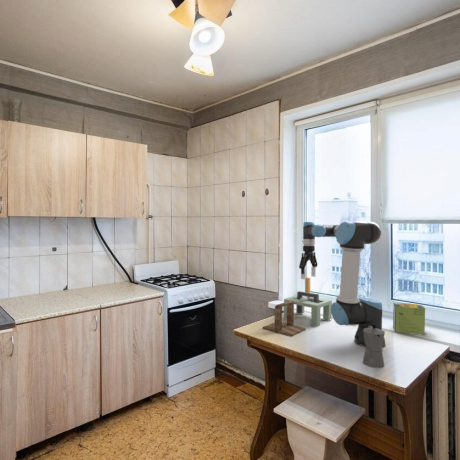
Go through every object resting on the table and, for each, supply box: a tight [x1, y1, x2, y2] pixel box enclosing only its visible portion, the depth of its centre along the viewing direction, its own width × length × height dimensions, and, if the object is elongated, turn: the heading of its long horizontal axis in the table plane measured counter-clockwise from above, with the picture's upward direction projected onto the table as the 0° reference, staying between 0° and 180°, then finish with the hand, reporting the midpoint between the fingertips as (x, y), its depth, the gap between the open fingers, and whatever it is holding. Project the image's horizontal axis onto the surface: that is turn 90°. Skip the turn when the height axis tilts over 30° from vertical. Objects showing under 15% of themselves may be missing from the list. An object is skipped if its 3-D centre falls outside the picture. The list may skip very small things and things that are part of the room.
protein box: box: [392, 302, 426, 336], centre depth 196 cm, size 10×15×16 cm
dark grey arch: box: [296, 277, 320, 313], centre depth 217 cm, size 2×14×24 cm, turn 48°
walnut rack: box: [262, 300, 307, 338], centre depth 196 cm, size 16×20×16 cm
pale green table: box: [283, 294, 333, 328], centre depth 217 cm, size 20×24×15 cm
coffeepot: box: [362, 324, 386, 369], centre depth 151 cm, size 15×9×18 cm, turn 175°
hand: (308, 277), depth 216 cm, fingers open, 13 cm apart
